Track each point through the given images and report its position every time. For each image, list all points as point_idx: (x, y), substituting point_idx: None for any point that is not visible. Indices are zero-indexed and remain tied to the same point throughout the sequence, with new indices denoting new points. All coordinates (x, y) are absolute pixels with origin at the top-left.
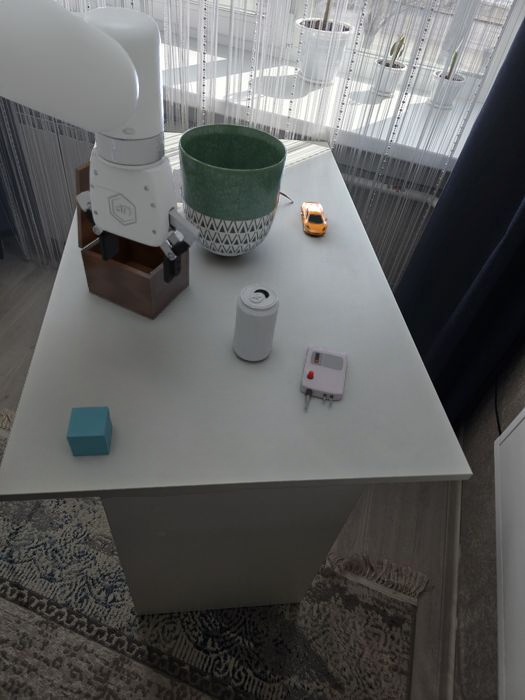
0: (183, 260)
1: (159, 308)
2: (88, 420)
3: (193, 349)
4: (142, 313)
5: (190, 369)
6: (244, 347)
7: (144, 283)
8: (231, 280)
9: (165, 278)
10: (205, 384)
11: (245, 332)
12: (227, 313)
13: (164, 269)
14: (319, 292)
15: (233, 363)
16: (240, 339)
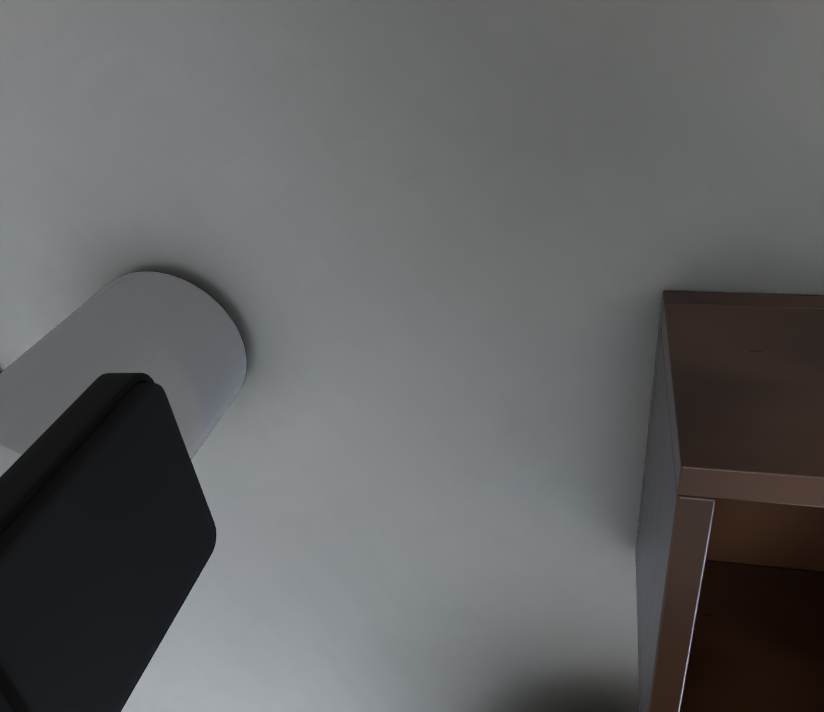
0: (644, 662)
1: (658, 362)
2: None
3: (370, 219)
4: (734, 299)
5: (299, 98)
6: (110, 305)
7: (725, 433)
8: (488, 626)
9: (103, 398)
10: (184, 55)
11: (54, 356)
12: (387, 468)
13: (39, 476)
14: (195, 666)
15: (181, 235)
16: (116, 328)
